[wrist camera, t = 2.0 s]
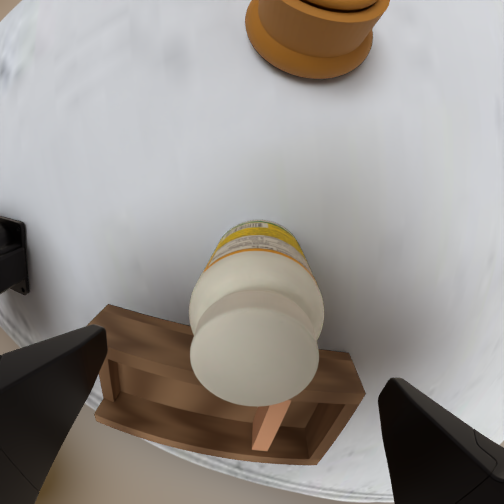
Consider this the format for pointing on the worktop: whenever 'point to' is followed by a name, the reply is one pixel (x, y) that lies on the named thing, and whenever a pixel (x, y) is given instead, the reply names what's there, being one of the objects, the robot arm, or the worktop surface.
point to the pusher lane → (211, 396)
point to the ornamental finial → (313, 34)
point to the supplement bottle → (256, 317)
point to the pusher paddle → (267, 424)
